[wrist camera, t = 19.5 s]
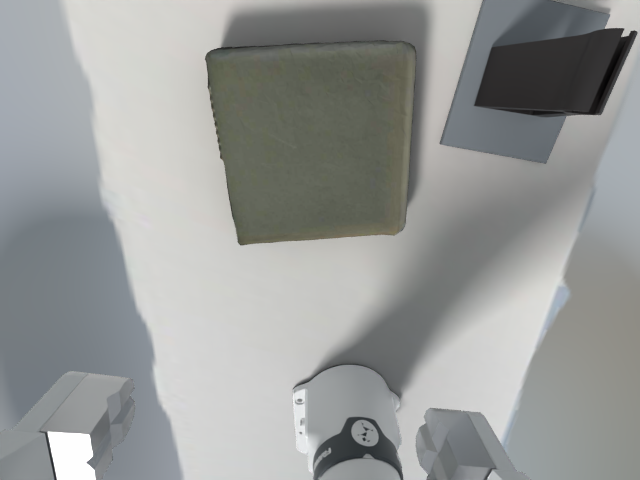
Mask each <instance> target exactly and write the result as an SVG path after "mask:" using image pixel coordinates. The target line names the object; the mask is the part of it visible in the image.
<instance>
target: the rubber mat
mask: <svg viewBox="0 0 640 480" xmlns="http://www.w3.org/2000/svg"><path fill="white" fill-rule="evenodd" d="M609 17H610V15H609V14H605V13H601V12H597V11H593V10H589V9H584V8H580V7H576V6H572V5H568V4H563V3H559V2H555V1H551V0H483V2H482V5H481V8H480V12H479V15H478V18H477V21H476V25H475V28H474V31H473V35H472V38H471V41H470V45H469V48H468V51H467V55H466V58H465V61H464V65H463V68H462V71H461V75H460V78H459V81H458V84H457V88H456V91H455V94H454V98H453V101H452V104H451V108H450V111H449V114H448V118H447V121H446V124H445V128H444V131H443V134H442V138H441V141H440V144H441V145H447V146H452V147H458V148H463V149H469V150H474V151H480V152H485V153H491V154H496V155H502V156H507V157H513V158H518V159H524V160H529V161H535V162H540V163H546V162H547V160H548V158H549V155H550V153H551V151H552V148H553V146H554V144H555V142H556V139H557V137H558V135H559V132H560V130H561V128H562V125H563V123H564V121H565V118H566V116H558V117H538V116H532V115H526V114H520V113H513V112H508V111H501V110H495V109H489V108H483V107H477V106H474V104H475V101H476V97H477V94H478V91H479V87H480V84H481V81H482V77H483V74H484V71H485V67H486V64H487V61H488V58H489V54H490V51H491V48H492V47H497V46H504V45H512V44H519V43H526V42H534V41H541V40H548V39H556V38H563V37H570V36H578V35H583V34H587V33H590V32H593V31H596V30H601V29H604V28H605V26H606V24H607V22H608V19H609Z"/></svg>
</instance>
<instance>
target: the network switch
mask: <svg viewBox="0 0 640 480" xmlns="http://www.w3.org/2000/svg"><path fill="white" fill-rule="evenodd" d="M205 60H206V63H207V71H208V89H209V93H210V100H211V107H212V111H213V117H214V121H215V127H216V134H217V137H218V144H219V150H220V158H221V159H222V160H223V161H224V165H225V171H226V178H227V188H228V194H229V200H230V205H231V211H232V217H233V220H234V223H235V228H236V233H237V237H238V243H239V244H240V245H247V244H255V243H273V242H279V241H301V240H316V239H328V238H341V237H355V236H367V235H396V234H397V233H399V232H400V231H402V230H403V228H404V227H405V223H406V211H407V196H408V183H409V169H410V149H411V130H412V117H413V104H414V88H415V73H416V50H415V47H414V46H413V45H411V44H410V43H407V42H404V41H390V42H389V41H353V42H337V43H309V44H288V45H275V46H259V47H257V46H250V47H235V48H233V47H225V48H217V49H214V50H211V51H210V52H208V53H207V55H206V57H205Z"/></svg>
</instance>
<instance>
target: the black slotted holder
mask: <svg viewBox="0 0 640 480" xmlns="http://www.w3.org/2000/svg"><path fill="white" fill-rule="evenodd" d="M623 31H624V29H623V28H610V29H601V30H596V31H593V32H590V33H587V34H583V35H578V36H570V37H563V38H556V39H548V40H541V41H534V42H526V43H519V44H512V45H504V46H497V47H492V48H491V51H490V54H489V58H488V61H487V64H486V67H485V71H484V74H483V77H482V81H481V84H480V87H479V91H478V94H477V97H476V101H475V104H474V106H477V107H483V108H489V109H495V110H501V111H508V112H513V113H520V114H526V115H532V116H538V117H558V116H570V115H601V114H602V112H603V110H604V107H605V105H606V103H607V101H608V98H609V96H610V94H611V92H612V89H613V87H614V85H615V83H616V80H617V78H618V76H619V74H620V71H621V69H622V67H623V65H624V62H625V60H626V58H627V56H628V53H629V51H630V49H631V47H632V44H633V42H634V40H635V38H636V35H637V31H631V32H630V34H629V36H626V37H621V35H622V33H623Z"/></svg>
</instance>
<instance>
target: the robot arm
mask: <svg viewBox="0 0 640 480" xmlns="http://www.w3.org/2000/svg"><path fill="white" fill-rule="evenodd" d="M133 390H134V382H133V379H131V378H124V377H116V376H108V375H101V374H100V375H99V374H92V373H83V372H74V371H69V372H68V373H66V374H64V375H63V376H61V377H60V379H59V380H58V381H57V382H56V383H55V384H54V385H53V386H52V387H51V388H50V389H49V390H48V392H46V394H45V395H44V396H43V397H42V398H41V399H40V400H39V401H38V402H37V403H36V405H34V407H32V409H31V410H30V411H29V412H28V413H27V414H26V415H25V416H24V417H23V418H22V419H21V420H20V421H19V423H18V424H17V425H16V426H15V427H14V428H13V429H12V430H3V431H1V432H0V480H101V479H102V478H103V476H104V474H105V473H106V471H107V469H108V467H109V465H110V464H111V462H112V460H113V453H112V449H113V448H114V447H116V446H117V445H118V444H120V443H121V442H122V441H123V440H124V439H125V437H126V435H127V433H128V431H129V429H130V426H131V424H132V421H133V418H134V412H135V401H134V400H133V399H132V398H131V396H130V395H131V393H132V392H133ZM292 396H293V409H294V422H295V435H296V447H297V450H298V451H300V452H302V453H304V454H306V455H308V470H309V472H310V473H311V474H313V480H403V474H402V466H401V462H400V458H399V456H398V453H397V450H398V448H399V446H400V445H401V442H402V440H401V434H400V430H399V425H398V420H397V416H396V411H397V409H398V408H399V406H400V400H399V397H398V396H397V395H396V394H394V393H393V392H392V391H390V390H389V388H388V386H387V384H386V382H385V381H384V379H383V378H382V377H381V376H380V375H379V374H378V373H377V372H375V371H373V370H371V369H369V368H367V367H363V366H359V365H341V366H336V367H332V368H329V369H327V370H325V371H323V372H321V373H320V374H318V375H317V376H316V377H314V378H313V379H312V380H311V381H309V382H308V383H305V384H302V385H299V386H297V387H295V388H294V389H293V391H292ZM424 419H425V422H426V423H425V424H424V425H422V426H421V427H420V428H419V430H418V432H417V435H416V452H417V457H418V460H419V464H420V466H421V467H422V468H423V469H424V470H425V471H426V472H427V474H428V476H427V480H531V479H530V478H529V477H528V476H526V475H525V474H524V473H523V472H520V471H517V470H516V469H515V467H514V465H513V464H512V462H511V460H510V459H509V457H508V455H507V453H506V452H505V450H504V448H503V447H502V445H501V443H500V442H499V440H498V438H497V436H496V435H495V433H494V431H493V430H492V428H491V426H490V425H489V423H488V421H487V419H486V418H485V416H484V415H482V414H481V413H480V412H469V411H461V410H450V409H438V408H429V409H428V410H427V411H426V413H425V415H424Z"/></svg>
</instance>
